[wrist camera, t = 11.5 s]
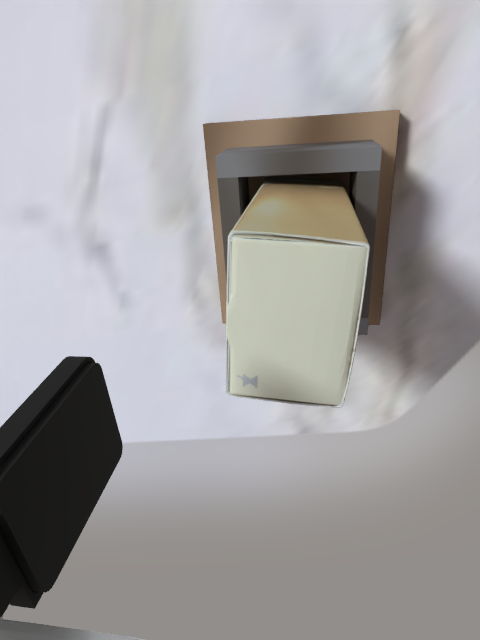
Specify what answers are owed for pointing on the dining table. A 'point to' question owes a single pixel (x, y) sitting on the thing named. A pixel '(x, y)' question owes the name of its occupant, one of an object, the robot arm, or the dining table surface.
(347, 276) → the skincare box
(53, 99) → the dining table surface
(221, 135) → the sleeve stand
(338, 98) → the dining table surface
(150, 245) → the dining table surface
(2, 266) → the dining table surface
